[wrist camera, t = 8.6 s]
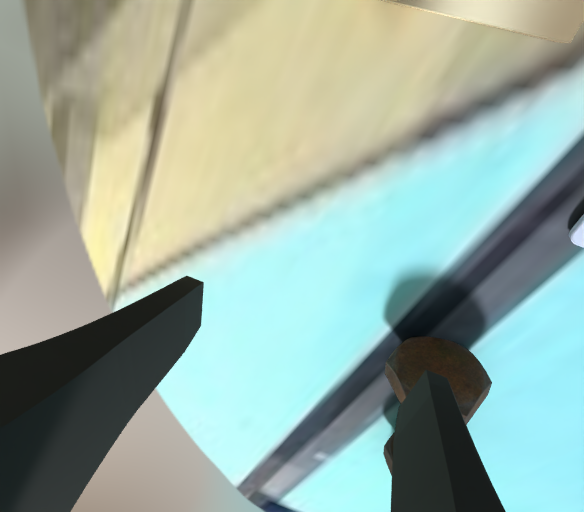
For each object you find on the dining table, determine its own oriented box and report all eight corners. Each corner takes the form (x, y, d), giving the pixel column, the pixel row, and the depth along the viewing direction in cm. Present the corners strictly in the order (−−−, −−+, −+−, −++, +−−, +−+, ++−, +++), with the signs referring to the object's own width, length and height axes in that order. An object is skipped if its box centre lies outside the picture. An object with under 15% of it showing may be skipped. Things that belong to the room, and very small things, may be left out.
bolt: (405, 440, 31) (425, 320, 23) (459, 484, 28) (504, 363, 20) (364, 489, 28) (371, 371, 20) (420, 545, 25) (454, 431, 17)
